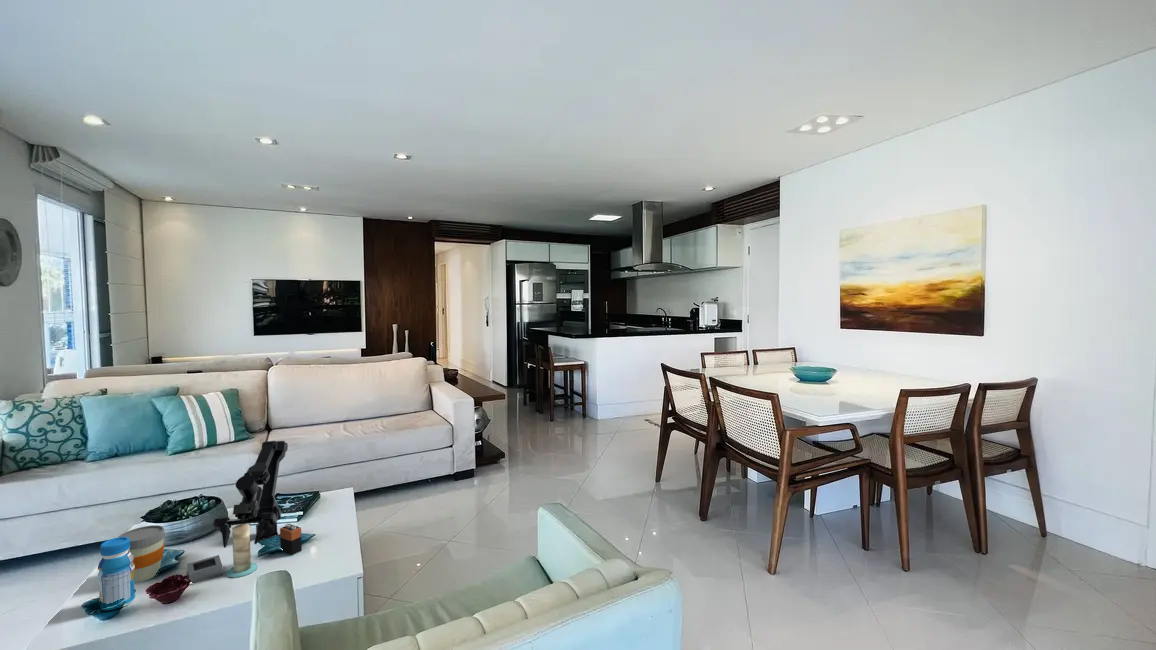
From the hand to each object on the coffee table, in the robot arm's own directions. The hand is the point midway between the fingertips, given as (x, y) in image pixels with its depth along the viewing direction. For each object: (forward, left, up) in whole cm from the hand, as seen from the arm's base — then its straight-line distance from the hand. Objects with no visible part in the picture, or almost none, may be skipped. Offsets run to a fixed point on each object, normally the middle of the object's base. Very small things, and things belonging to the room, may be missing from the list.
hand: (240, 545), depth 171 cm
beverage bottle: (+31, -4, -10) cm, 33 cm away
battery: (-17, -5, -10) cm, 20 cm away
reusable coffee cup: (+25, -20, -10) cm, 34 cm away
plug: (-1, -1, -9) cm, 9 cm away
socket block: (+9, -7, -10) cm, 15 cm away
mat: (-1, -1, -10) cm, 10 cm away
